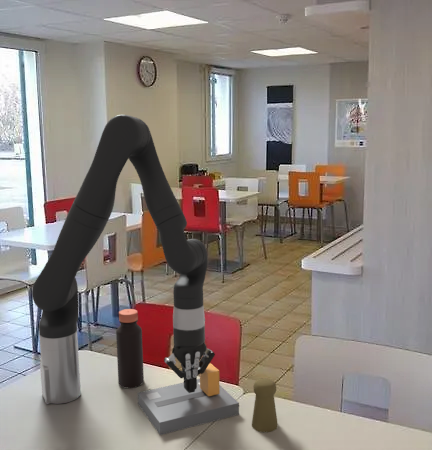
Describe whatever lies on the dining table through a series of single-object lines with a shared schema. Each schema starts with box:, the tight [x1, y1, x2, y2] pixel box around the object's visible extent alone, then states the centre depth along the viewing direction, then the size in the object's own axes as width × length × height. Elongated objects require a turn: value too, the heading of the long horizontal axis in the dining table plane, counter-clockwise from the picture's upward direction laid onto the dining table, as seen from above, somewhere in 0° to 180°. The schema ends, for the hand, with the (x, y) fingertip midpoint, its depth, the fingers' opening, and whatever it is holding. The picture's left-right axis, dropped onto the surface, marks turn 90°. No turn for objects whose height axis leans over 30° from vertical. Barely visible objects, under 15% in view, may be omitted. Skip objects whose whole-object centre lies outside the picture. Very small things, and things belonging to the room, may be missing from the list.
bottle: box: [115, 308, 145, 389], centre depth 151 cm, size 7×7×20 cm
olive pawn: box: [251, 377, 279, 433], centre depth 130 cm, size 6×6×11 cm
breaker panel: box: [136, 378, 240, 436], centre depth 139 cm, size 20×16×3 cm
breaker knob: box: [199, 362, 220, 396], centre depth 140 cm, size 3×5×6 cm, turn 26°
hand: (190, 391), depth 138 cm, fingers closed
